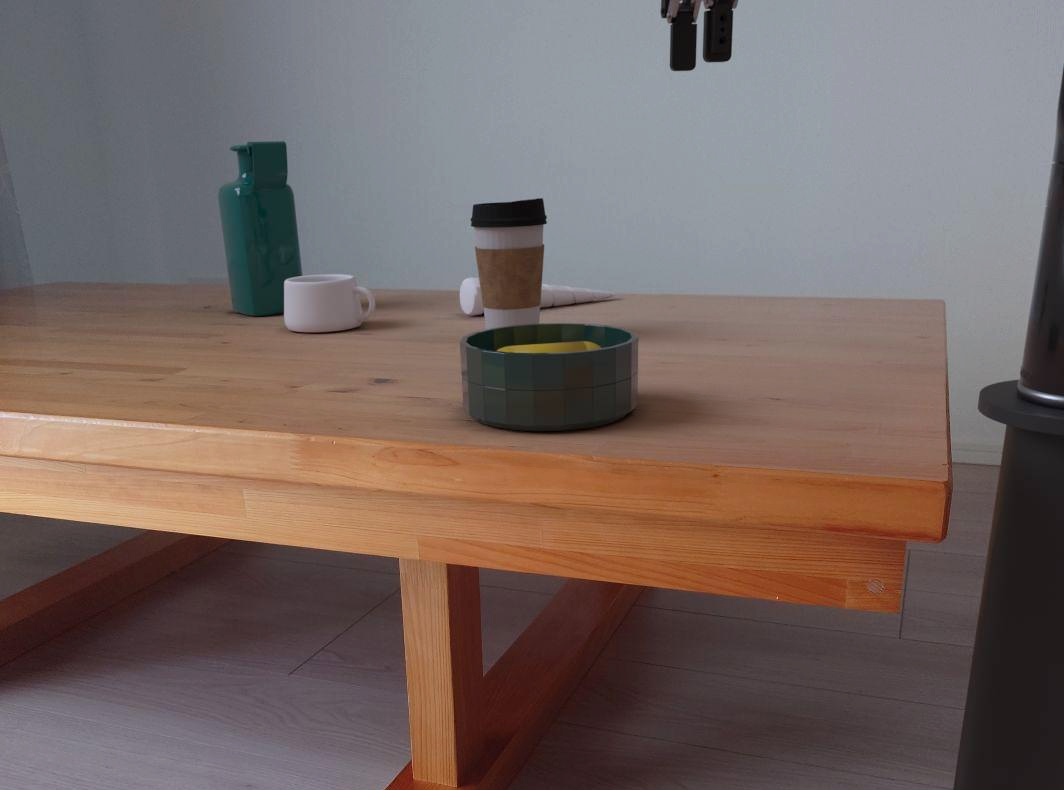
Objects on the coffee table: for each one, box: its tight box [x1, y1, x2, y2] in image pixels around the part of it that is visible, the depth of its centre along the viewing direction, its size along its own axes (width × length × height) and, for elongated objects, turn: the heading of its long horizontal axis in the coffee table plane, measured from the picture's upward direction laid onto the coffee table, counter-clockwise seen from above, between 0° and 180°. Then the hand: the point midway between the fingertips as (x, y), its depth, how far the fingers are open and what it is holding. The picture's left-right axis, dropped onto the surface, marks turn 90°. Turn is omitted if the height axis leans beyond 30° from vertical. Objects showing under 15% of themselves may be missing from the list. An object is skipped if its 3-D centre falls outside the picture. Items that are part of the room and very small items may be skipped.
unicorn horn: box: [459, 277, 618, 317], centre depth 135 cm, size 5×24×5 cm, turn 116°
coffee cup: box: [470, 197, 548, 330], centre depth 112 cm, size 8×8×15 cm
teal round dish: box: [459, 322, 639, 432], centre depth 81 cm, size 14×14×6 cm
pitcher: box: [217, 140, 303, 317], centre depth 136 cm, size 10×8×22 cm
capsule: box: [497, 341, 601, 353], centre depth 82 cm, size 11×5×5 cm
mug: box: [283, 273, 376, 333], centre depth 124 cm, size 12×10×6 cm
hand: (698, 66), depth 86 cm, fingers open, 8 cm apart
